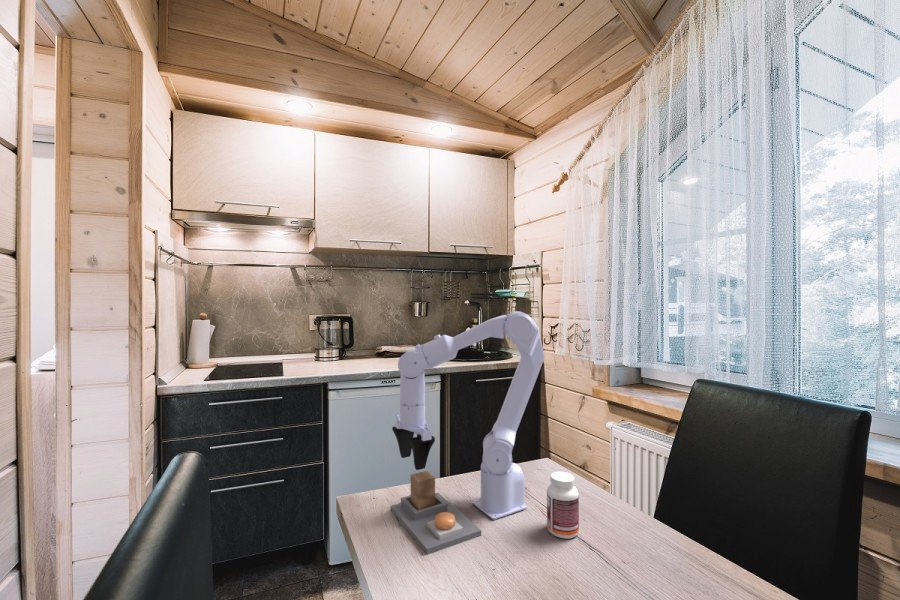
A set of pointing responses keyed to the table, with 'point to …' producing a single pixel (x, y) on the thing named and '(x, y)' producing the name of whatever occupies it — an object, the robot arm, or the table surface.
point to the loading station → (424, 524)
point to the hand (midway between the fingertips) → (412, 462)
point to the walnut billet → (422, 490)
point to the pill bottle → (562, 506)
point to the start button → (444, 520)
